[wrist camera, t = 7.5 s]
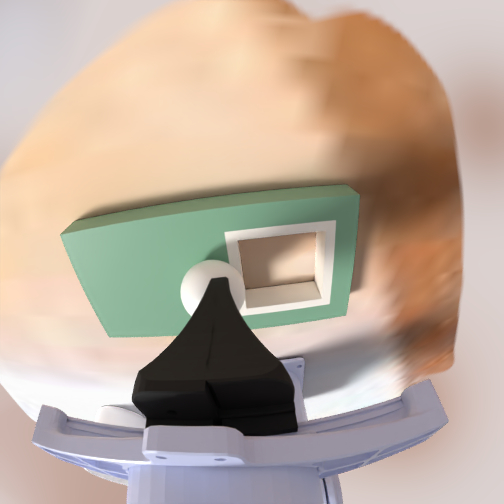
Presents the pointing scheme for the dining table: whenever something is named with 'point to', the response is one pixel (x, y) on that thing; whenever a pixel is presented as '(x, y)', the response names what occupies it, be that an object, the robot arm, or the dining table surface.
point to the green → (212, 256)
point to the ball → (200, 278)
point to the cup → (118, 418)
